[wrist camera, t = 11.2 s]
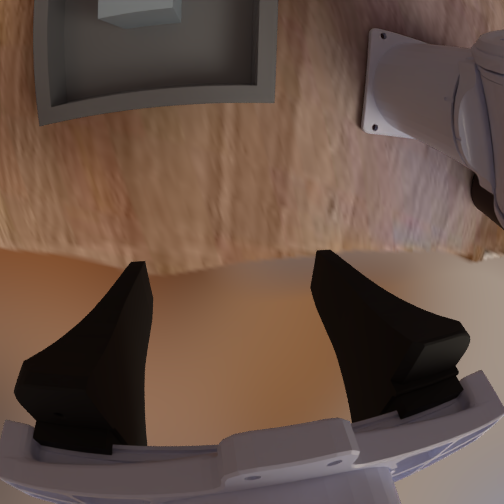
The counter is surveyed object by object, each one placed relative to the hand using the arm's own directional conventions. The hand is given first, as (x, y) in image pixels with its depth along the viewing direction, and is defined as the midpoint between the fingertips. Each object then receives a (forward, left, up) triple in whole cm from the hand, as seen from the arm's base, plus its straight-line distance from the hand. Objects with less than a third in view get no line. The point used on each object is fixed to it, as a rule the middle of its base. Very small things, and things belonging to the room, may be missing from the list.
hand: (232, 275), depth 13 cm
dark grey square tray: (+4, -13, -10) cm, 17 cm away
